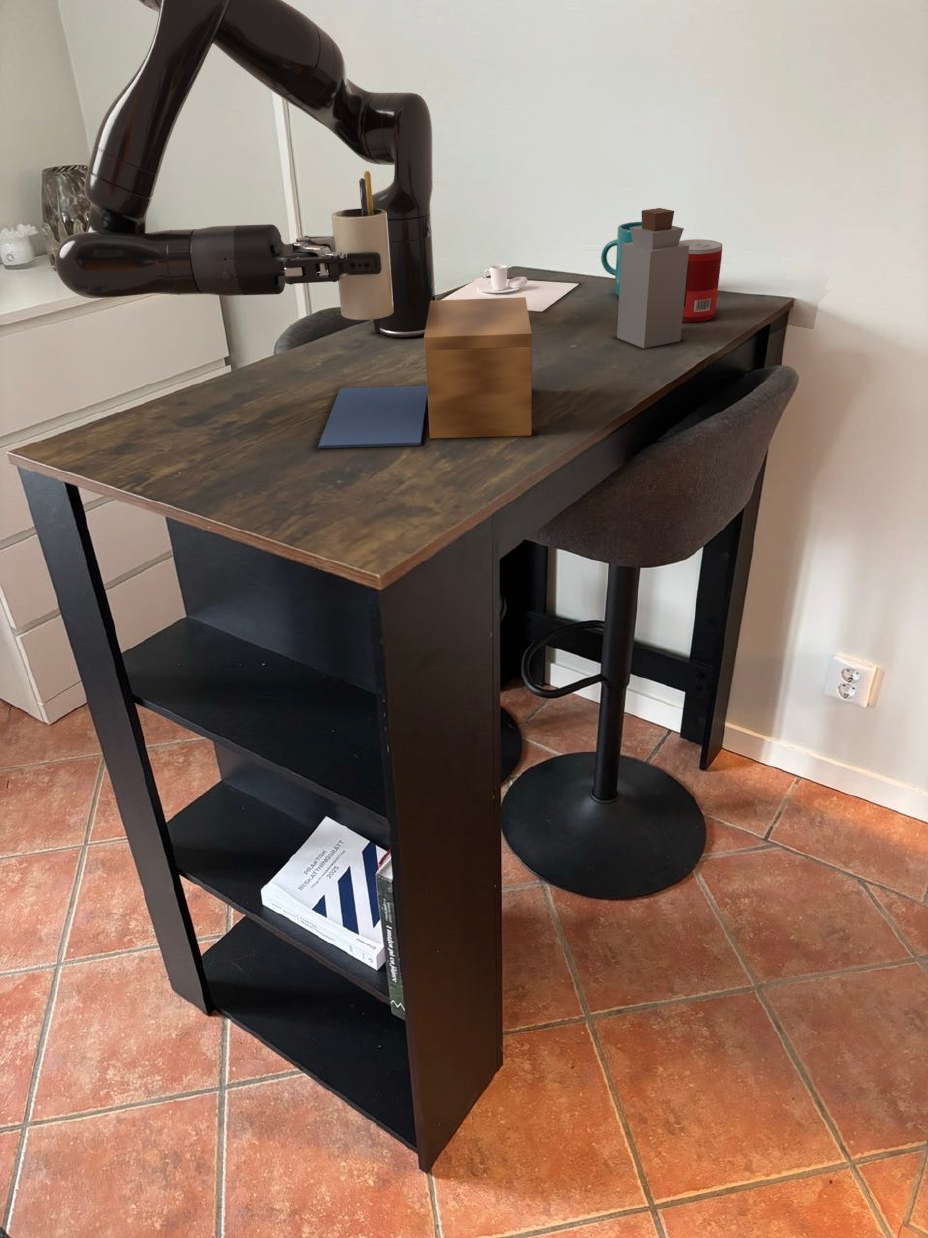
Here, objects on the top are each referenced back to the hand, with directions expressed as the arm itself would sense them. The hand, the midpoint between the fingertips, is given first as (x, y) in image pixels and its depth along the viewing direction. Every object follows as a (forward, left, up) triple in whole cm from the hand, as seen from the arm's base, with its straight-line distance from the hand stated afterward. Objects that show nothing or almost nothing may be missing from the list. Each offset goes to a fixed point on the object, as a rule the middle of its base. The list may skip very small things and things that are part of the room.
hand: (383, 256), depth 105 cm
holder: (-2, -1, -6) cm, 7 cm away
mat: (-2, -1, -19) cm, 19 cm away
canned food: (+28, +54, -19) cm, 64 cm away
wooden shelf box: (+10, +4, -19) cm, 22 cm away
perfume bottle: (+24, +40, -19) cm, 50 cm away
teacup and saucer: (-6, +62, -19) cm, 65 cm away
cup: (+16, +66, -19) cm, 70 cm away
